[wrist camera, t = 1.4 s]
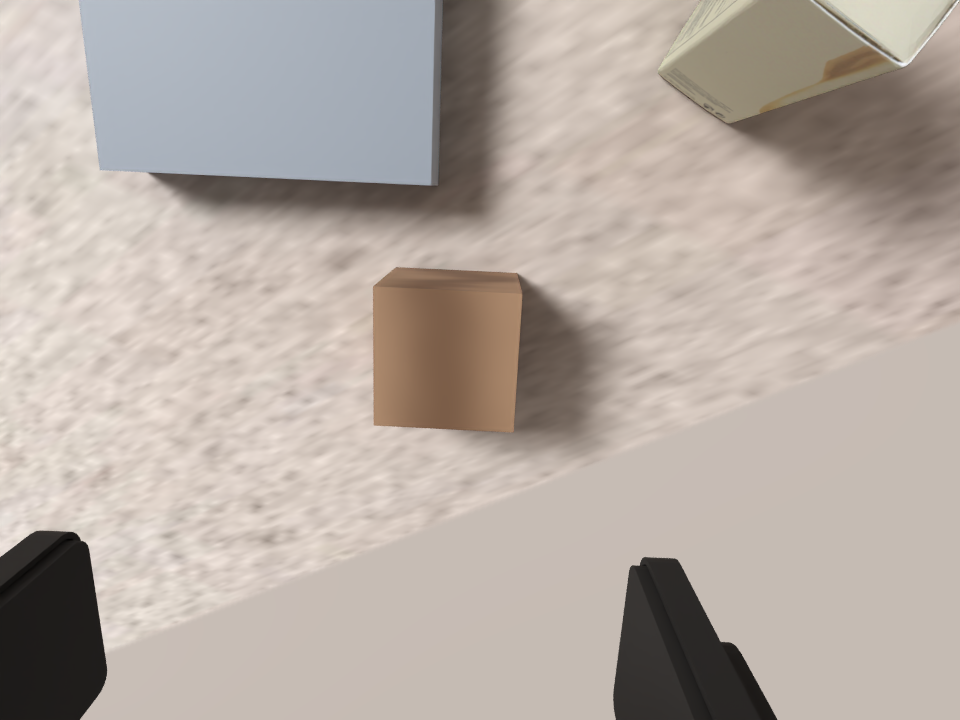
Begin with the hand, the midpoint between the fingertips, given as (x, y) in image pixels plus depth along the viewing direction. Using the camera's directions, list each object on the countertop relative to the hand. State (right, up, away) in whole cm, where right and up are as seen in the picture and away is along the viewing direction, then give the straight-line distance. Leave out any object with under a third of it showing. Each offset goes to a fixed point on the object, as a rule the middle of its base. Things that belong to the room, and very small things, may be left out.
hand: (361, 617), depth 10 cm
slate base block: (-7, +20, +17) cm, 27 cm away
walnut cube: (+1, +6, +20) cm, 21 cm away
